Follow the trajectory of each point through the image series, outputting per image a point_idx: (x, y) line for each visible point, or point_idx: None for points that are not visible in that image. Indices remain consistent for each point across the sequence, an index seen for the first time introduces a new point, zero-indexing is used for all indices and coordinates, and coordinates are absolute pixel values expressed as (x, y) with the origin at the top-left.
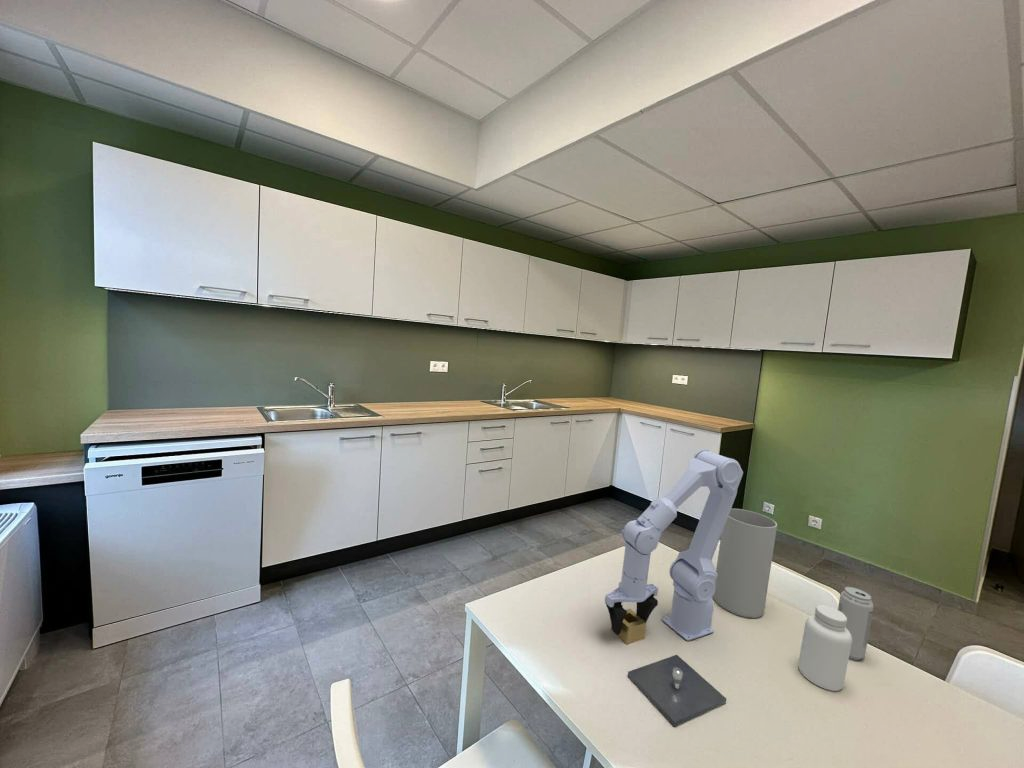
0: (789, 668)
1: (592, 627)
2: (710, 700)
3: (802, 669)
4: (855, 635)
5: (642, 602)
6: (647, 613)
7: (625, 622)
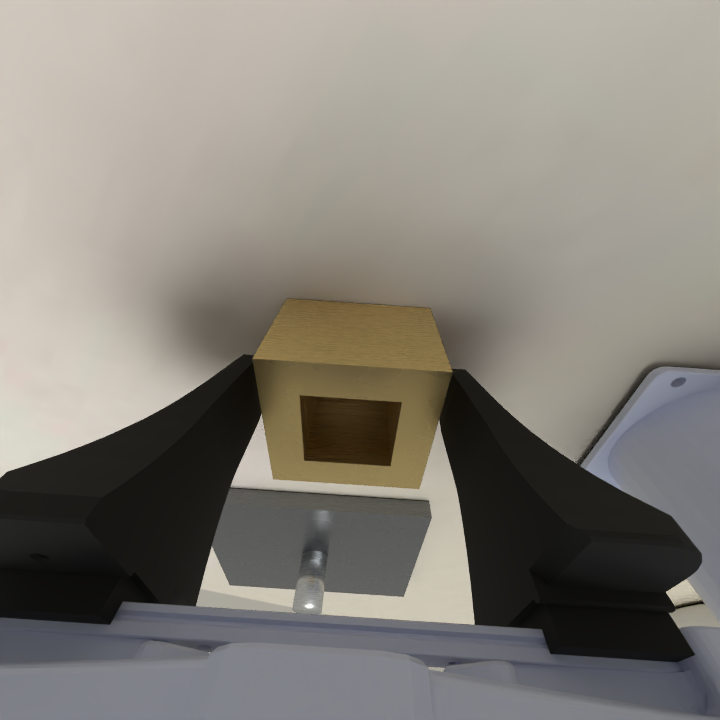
0: (684, 595)
1: (164, 236)
2: (360, 589)
3: (687, 625)
4: None
5: (495, 540)
6: (462, 516)
7: (285, 450)
